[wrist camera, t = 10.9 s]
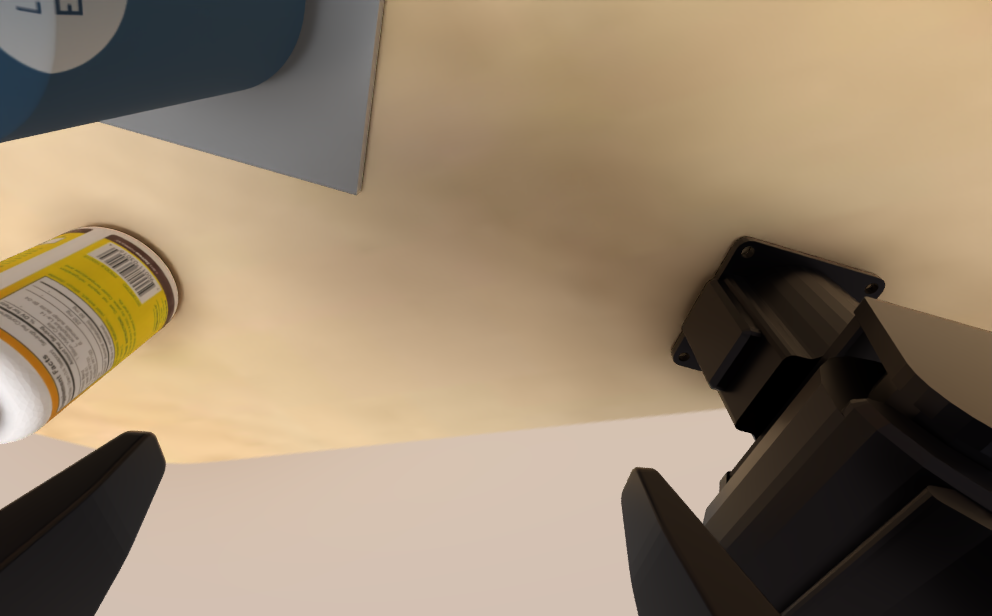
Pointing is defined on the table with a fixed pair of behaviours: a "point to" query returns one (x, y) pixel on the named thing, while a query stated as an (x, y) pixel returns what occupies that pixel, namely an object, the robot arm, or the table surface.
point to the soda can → (132, 56)
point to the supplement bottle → (73, 319)
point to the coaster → (292, 104)
